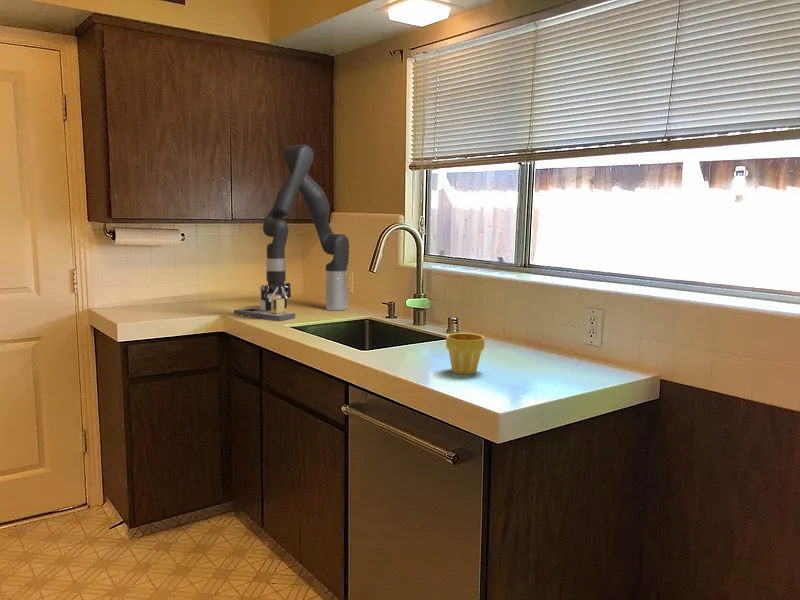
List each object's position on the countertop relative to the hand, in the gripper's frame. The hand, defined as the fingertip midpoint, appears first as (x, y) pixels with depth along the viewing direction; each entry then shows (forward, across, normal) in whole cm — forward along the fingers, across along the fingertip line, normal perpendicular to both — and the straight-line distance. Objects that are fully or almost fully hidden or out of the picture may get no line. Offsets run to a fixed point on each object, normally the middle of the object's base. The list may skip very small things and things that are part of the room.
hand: (276, 309), depth 260 cm
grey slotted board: (+4, 0, +7) cm, 8 cm away
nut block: (+4, 0, 0) cm, 4 cm away
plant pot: (+4, -32, -103) cm, 108 cm away
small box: (+4, +16, +19) cm, 25 cm away
